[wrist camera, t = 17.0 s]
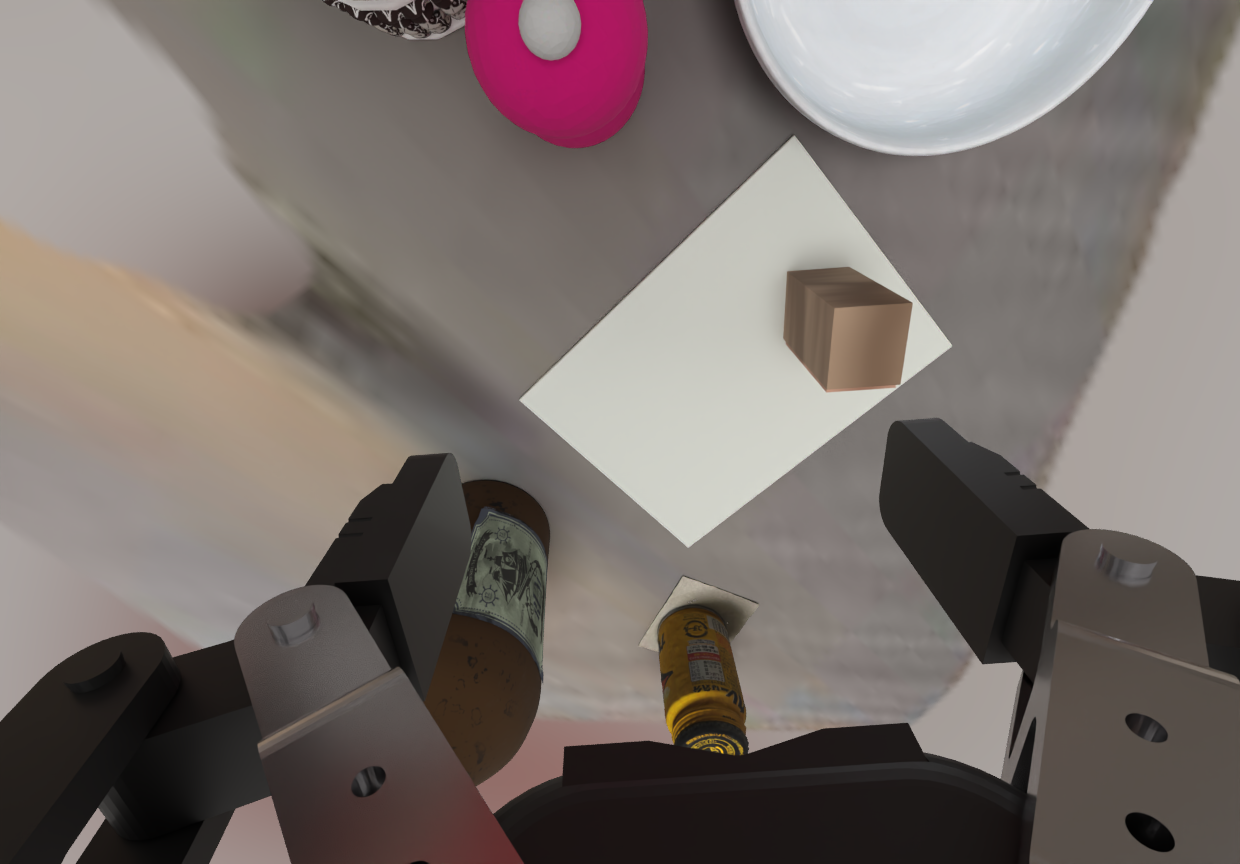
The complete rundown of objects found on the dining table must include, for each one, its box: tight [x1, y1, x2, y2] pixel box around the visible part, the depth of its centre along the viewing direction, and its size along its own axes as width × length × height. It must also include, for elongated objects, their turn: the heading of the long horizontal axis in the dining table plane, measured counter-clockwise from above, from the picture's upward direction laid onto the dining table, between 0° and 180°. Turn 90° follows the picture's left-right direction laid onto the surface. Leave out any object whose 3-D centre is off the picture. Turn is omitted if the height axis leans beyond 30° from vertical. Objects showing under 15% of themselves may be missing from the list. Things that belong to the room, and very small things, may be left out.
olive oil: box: [423, 480, 550, 786], centre depth 37 cm, size 11×11×25 cm
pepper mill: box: [465, 0, 648, 148], centre depth 26 cm, size 7×7×20 cm
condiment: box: [639, 576, 759, 755], centre depth 48 cm, size 7×8×12 cm
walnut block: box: [783, 267, 913, 393], centre depth 36 cm, size 4×5×9 cm
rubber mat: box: [519, 135, 952, 548], centre depth 43 cm, size 18×24×1 cm
